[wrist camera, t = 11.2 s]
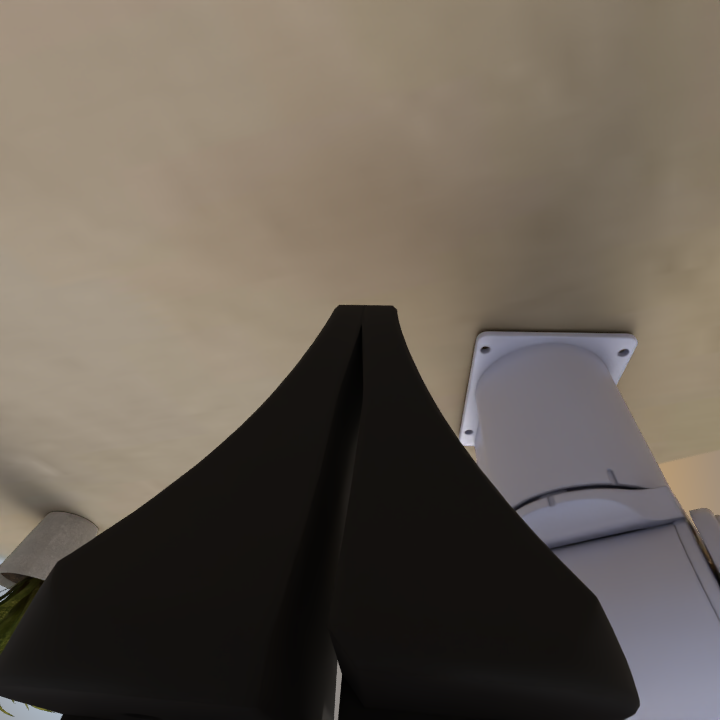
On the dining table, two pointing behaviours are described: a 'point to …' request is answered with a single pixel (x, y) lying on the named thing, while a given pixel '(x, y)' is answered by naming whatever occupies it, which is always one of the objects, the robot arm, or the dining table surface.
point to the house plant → (37, 565)
